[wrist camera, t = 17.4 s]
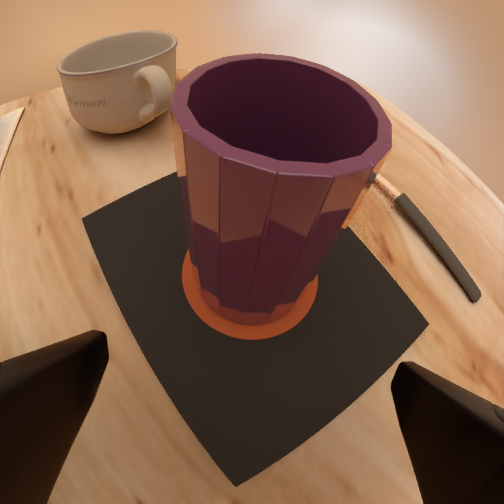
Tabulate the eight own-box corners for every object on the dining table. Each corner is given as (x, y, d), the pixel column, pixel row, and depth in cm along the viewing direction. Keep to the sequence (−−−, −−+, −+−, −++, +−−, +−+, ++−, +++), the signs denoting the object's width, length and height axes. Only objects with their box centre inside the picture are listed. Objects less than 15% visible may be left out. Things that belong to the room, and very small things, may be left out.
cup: (316, 245, 20) (390, 89, 10) (287, 342, 17) (390, 215, 6) (220, 212, 21) (226, 42, 10) (176, 300, 17) (124, 133, 7)
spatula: (286, 84, 31) (288, 73, 30) (487, 280, 21) (498, 273, 19) (241, 95, 29) (242, 83, 28) (460, 322, 19) (472, 316, 17)
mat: (426, 325, 18) (430, 323, 18) (235, 485, 13) (235, 487, 12) (260, 140, 26) (260, 136, 25) (83, 221, 20) (81, 217, 20)
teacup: (72, 111, 27) (54, 51, 20) (160, 78, 30) (155, 18, 23) (94, 189, 21) (62, 108, 14) (214, 140, 25) (216, 58, 18)
